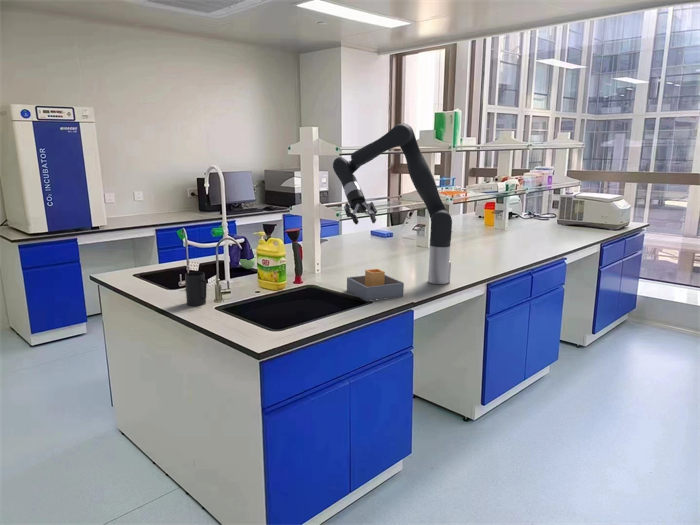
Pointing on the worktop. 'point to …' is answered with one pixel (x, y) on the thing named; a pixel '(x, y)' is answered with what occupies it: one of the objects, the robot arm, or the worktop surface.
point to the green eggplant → (248, 262)
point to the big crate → (375, 288)
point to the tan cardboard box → (374, 277)
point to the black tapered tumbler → (195, 288)
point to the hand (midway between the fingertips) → (365, 222)
